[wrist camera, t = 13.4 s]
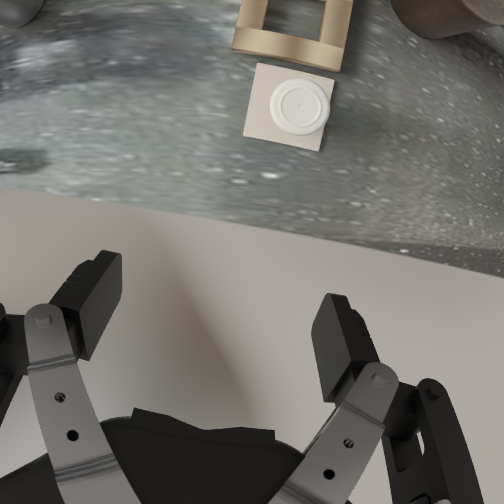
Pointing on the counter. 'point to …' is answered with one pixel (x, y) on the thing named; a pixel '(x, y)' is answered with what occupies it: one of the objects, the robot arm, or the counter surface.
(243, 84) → the counter surface
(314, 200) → the counter surface
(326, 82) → the tile
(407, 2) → the pillar candle
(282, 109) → the sprinkles bottle
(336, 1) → the collar
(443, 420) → the robot arm
